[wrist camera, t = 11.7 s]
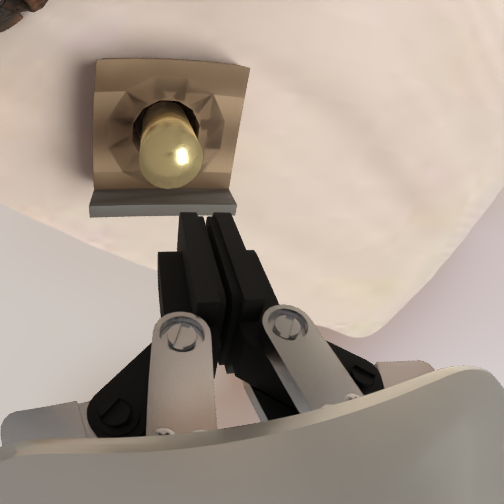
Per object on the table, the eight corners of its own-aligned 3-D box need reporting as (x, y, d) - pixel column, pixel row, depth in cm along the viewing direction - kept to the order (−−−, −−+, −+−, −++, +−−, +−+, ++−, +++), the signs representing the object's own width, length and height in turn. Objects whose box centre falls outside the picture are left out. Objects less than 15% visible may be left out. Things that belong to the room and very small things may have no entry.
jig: (103, 58, 21) (89, 62, 16) (239, 65, 25) (262, 71, 20) (99, 183, 27) (89, 217, 23) (219, 183, 31) (234, 215, 27)
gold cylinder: (144, 100, 24) (140, 128, 17) (189, 102, 26) (206, 130, 18) (141, 142, 27) (138, 188, 19) (184, 143, 28) (199, 189, 20)
